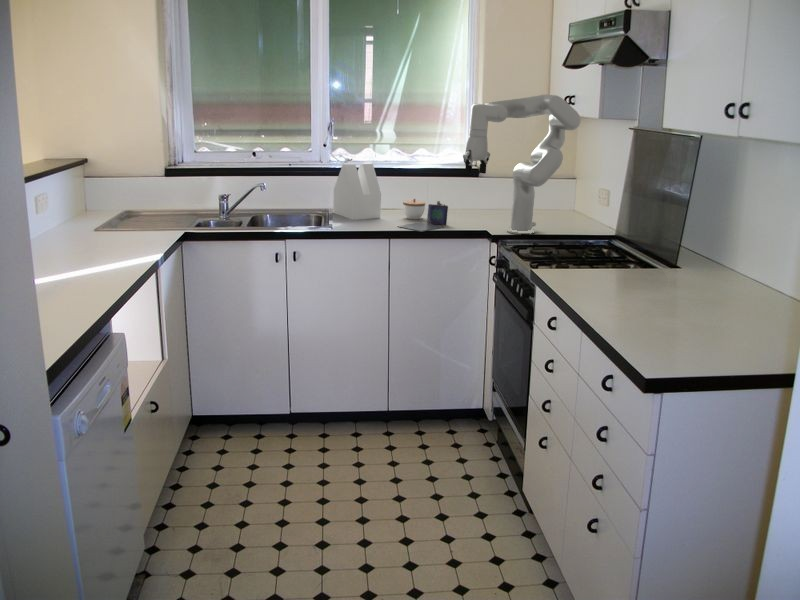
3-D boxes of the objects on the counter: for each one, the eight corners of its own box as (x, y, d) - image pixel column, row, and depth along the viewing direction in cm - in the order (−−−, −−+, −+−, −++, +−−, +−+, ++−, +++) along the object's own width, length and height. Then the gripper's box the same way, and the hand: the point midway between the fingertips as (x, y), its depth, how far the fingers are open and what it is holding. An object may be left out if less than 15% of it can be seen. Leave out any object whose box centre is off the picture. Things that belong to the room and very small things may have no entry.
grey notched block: (333, 212, 400) (334, 161, 393) (360, 211, 408) (361, 160, 402) (352, 219, 385) (353, 166, 378) (380, 217, 393) (382, 165, 386)
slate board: (421, 222, 385) (421, 221, 384) (444, 227, 376) (444, 226, 376) (397, 226, 372) (397, 226, 372) (421, 231, 363) (421, 230, 363)
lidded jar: (398, 216, 398) (399, 197, 395) (418, 215, 402) (419, 196, 400) (408, 220, 389) (409, 201, 386) (428, 219, 393) (429, 200, 391)
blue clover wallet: (426, 223, 381) (428, 200, 379) (427, 222, 384) (429, 199, 382) (446, 225, 381) (448, 202, 378) (446, 224, 384) (448, 201, 381)
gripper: (484, 132, 357) (481, 171, 362) (458, 133, 345) (455, 173, 350) (497, 134, 352) (494, 173, 357) (472, 135, 340) (469, 176, 345)
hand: (475, 173), depth 353 cm, fingers open, 9 cm apart
